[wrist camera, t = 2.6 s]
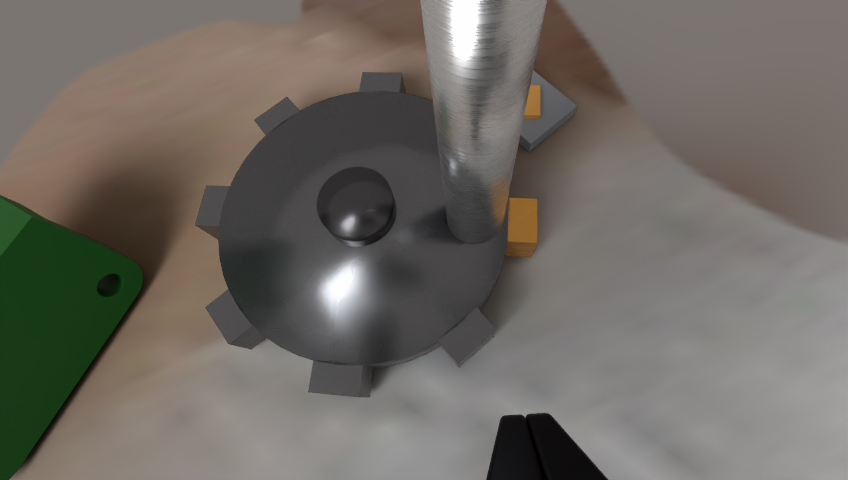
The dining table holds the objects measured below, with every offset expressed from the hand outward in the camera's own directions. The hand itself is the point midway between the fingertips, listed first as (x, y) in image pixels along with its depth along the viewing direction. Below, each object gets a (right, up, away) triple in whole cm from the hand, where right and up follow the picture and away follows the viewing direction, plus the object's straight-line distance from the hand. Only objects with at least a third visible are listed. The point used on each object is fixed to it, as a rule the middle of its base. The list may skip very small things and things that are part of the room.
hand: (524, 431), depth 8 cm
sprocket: (-4, +4, +14) cm, 15 cm away
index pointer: (+3, +10, +15) cm, 19 cm away
